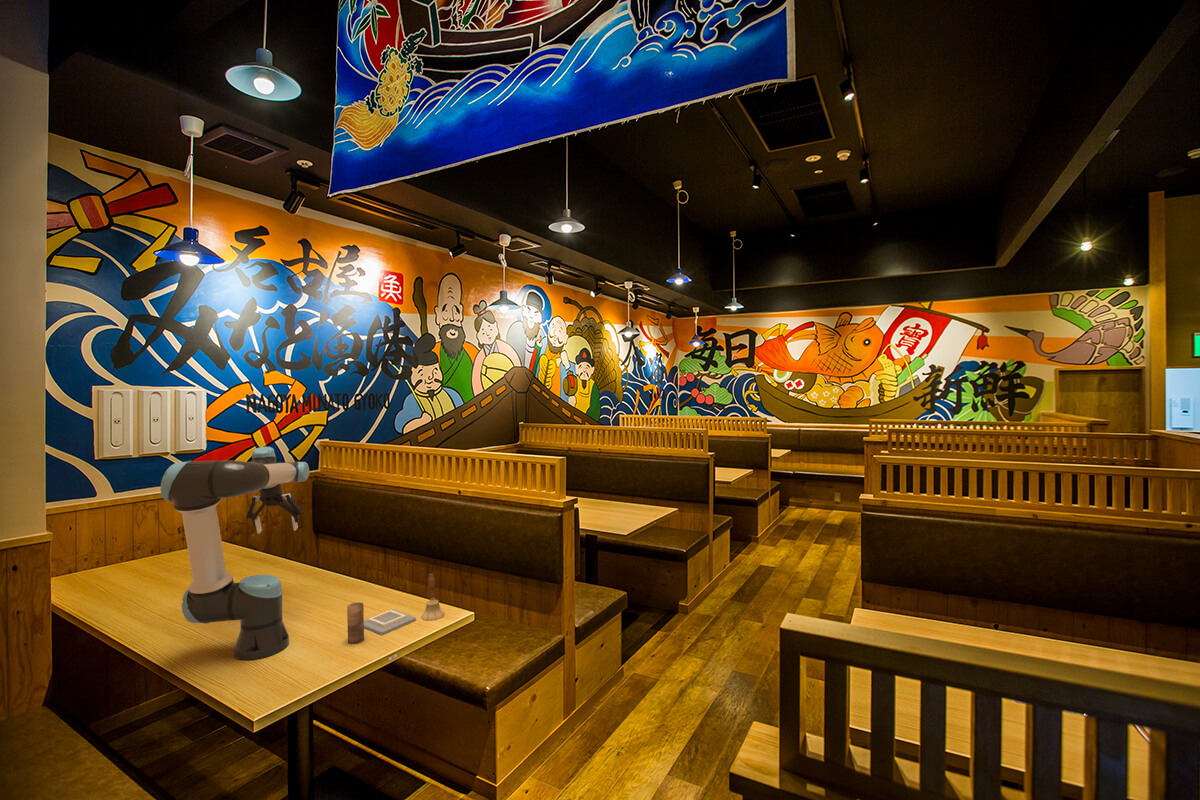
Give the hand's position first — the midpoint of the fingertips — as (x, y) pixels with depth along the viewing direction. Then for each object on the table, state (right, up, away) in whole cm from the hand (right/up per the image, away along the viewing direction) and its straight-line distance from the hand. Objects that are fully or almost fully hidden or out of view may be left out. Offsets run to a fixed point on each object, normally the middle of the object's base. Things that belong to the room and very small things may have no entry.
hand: (277, 530), depth 218 cm
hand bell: (+71, -27, -20) cm, 78 cm away
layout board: (+56, -27, -26) cm, 67 cm away
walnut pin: (+51, -28, -40) cm, 70 cm away
